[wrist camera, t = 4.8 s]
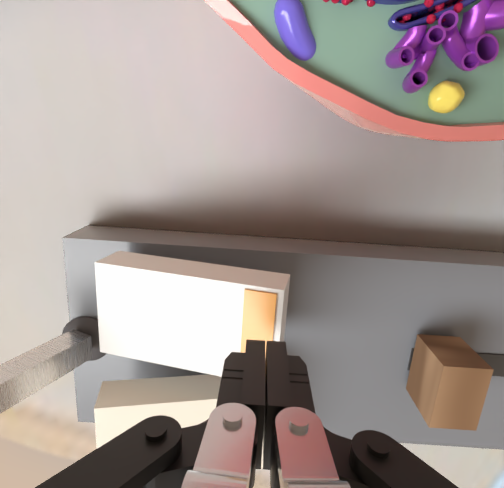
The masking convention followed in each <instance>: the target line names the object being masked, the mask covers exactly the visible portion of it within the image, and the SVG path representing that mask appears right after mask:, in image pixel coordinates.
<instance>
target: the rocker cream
mask: <svg viewBox="0 0 504 488" xmlns="http://www.w3.org/2000/svg"><path fill="white" fill-rule="evenodd" d="M221 378H222V377H220V376H215V375H210V374H207V375H192V376H177V377H161V378H146V379H131V380H115V381H103V382H102V385H101V388H100V391H99V394H98V397H97V400H96V404H95V407H94V417H95V432H96V446H97V449H98V448H99V447H101V446H102V445H104V444H106V443H107V442H109V441H110V440H112V439H113V438H115V437H117V436H118V435H120V434H121V433H123V432H125V431H126V430H128V429H129V428H131V427H133V426H134V425H136V424H137V423H139V422H141V421H142V420H144V419H146V418H149V417H152V416H158V415H163V416H169V417H172V418H174V419H175V420H177V421H178V422H179V424H180V426H181V428H185V427H190V426H194V425H198V424H200V423H202V422H204V421H206V420H207V419H209V416H210V414H211V412H212V411H213V410H214V409H215V408H216V404H217V399H218V393H219V388H220V382H221ZM261 468H263V446H262V460H261Z"/></svg>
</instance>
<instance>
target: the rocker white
mask: <svg viewBox="0 0 504 488" xmlns="http://www.w3.org/2000/svg"><path fill="white" fill-rule="evenodd" d="M95 278H96V295H97V311H98V327H99V344H100V352H102V353H107V354H112V355H117V356H122V357H127V358H132V359H137V360H142V361H147V362H151V363H156V364H161V365H166V366H171V367H176V368H181V369H186V370H191V371H196V372H200V373H205V374H210V375H215V376H220V377H222V372H223V366H224V361H225V359H226V358H227V357H228V355H229V354H230V353H231V352H242V353H245V350H246V340H247V339H249V340H265V356H266V342H267V341H283V342H284V335H285V324H286V314H287V304H288V294H289V284H290V274H284V273H277V272H269V271H262V270H255V269H248V268H240V267H233V266H226V265H219V264H211V263H204V262H197V261H190V260H182V259H175V258H168V257H161V256H154V255H146V254H139V253H132V252H125V251H117V252H115V253H113V254H111V255H109V256H107V257H105V258H103V259H100V260H98V261H96V262H95Z"/></svg>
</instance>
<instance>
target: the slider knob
mask: <svg viewBox="0 0 504 488" xmlns="http://www.w3.org/2000/svg"><path fill="white" fill-rule="evenodd" d="M493 370H494V369H493V368H492V367H491V366H490V365H489V364H487V363H486V362H485V361H484V360H483V359H482V358H481V357H480V356H479V355H478V354H477V353H476V352H475V351H474V350H473V349H472V348H471V347H470V346H469V345H468V344H467V343H466V342H465V341H464V340H463V339H462V338H461V337H454V336H438V335H423V334H417V338H416V343H415V348H414V352H413V357H412V362H411V366H410V371H409V376H408V381H407V385H406V390H407V391H408V393H409V395H410V396H411V398H412V400H413V401H414V403H415V405H416V407H417V408H418V410H419V412H420V413H421V415H422V417H423V418H424V420H425V422H426V423H427V425H428V427H429V428H443V429H458V430H473V431H476V430H477V426H478V423H479V419H480V416H481V412H482V409H483V405H484V402H485V398H486V395H487V391H488V388H489V384H490V381H491V377H492V374H493Z"/></svg>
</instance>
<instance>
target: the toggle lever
mask: <svg viewBox="0 0 504 488" xmlns="http://www.w3.org/2000/svg"><path fill="white" fill-rule="evenodd" d="M92 358H93V357H92V342H91V336H90V335H87V334H85V333H82V332H80V331H77V330H75V329H73V330H71V331H69V332H67V333H65V334H63V335H60V336H58V337H56V338H54V339H52V340H50V341H48V342H46V343H44V344H42V345H40V346H38V347H36V348H34V349H32V350H30V351H28V352H26V353H24V354H22V355H20V356H18V357H16V358H13V359H11V360H9V361H7V362H5V363H3V364H1V365H0V413H2V412H4V411H5V410H7V409H9V408H10V407H12V406H14V405H15V404H17V403H19V402H20V401H22V400H24V399H25V398H27V397H29V396H30V395H32V394H34V393H35V392H37V391H39V390H40V389H42V388H44V387H45V386H47V385H48V384H50V383H52V382H53V381H55V380H57V379H58V378H60V377H62V376H63V375H65V374H67V373H68V372H70V371H72V370H73V369H75V368H77V367H78V366H80V365H82V364H83V363H85V362H87V361H88V360H90V359H92Z"/></svg>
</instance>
